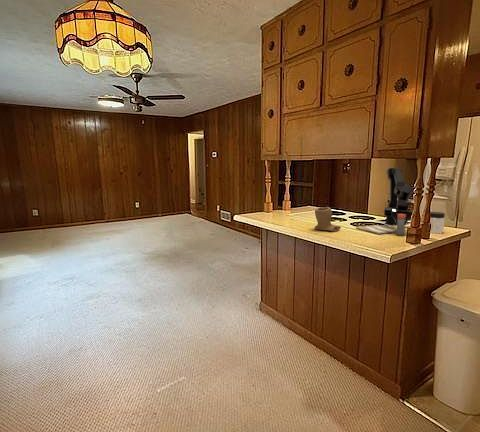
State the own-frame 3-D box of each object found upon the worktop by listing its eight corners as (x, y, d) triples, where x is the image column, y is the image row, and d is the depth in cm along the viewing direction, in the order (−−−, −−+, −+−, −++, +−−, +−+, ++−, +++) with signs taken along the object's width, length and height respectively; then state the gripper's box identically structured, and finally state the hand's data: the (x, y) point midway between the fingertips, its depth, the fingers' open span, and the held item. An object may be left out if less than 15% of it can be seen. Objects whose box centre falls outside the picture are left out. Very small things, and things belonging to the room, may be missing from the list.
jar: (428, 233, 180) (430, 213, 178) (424, 230, 188) (426, 211, 186) (445, 234, 178) (447, 214, 175) (440, 231, 185) (443, 212, 183)
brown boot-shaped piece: (310, 230, 192) (311, 207, 189) (319, 227, 200) (320, 205, 197) (332, 233, 181) (333, 209, 179) (341, 230, 190) (342, 207, 187)
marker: (399, 233, 179) (401, 213, 176) (405, 235, 175) (407, 214, 172) (394, 234, 177) (396, 213, 175) (400, 235, 173) (402, 214, 171)
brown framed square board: (377, 226, 201) (377, 223, 201) (402, 231, 184) (402, 229, 184) (355, 228, 194) (355, 226, 194) (379, 235, 177) (379, 232, 177)
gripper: (385, 194, 179) (383, 215, 172) (421, 195, 171) (420, 217, 163) (385, 205, 188) (383, 225, 180) (419, 207, 179) (418, 228, 171)
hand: (400, 224), depth 173 cm, fingers closed on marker, 4 cm apart
